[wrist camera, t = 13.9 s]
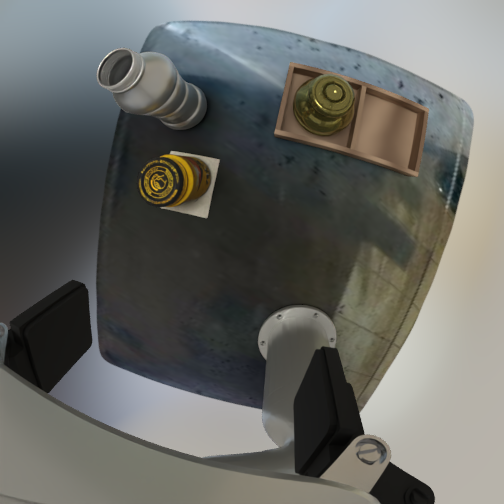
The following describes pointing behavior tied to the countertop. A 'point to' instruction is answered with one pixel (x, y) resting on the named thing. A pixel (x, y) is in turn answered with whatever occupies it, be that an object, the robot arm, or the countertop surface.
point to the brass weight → (324, 105)
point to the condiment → (179, 182)
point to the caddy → (363, 124)
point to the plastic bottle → (151, 88)
